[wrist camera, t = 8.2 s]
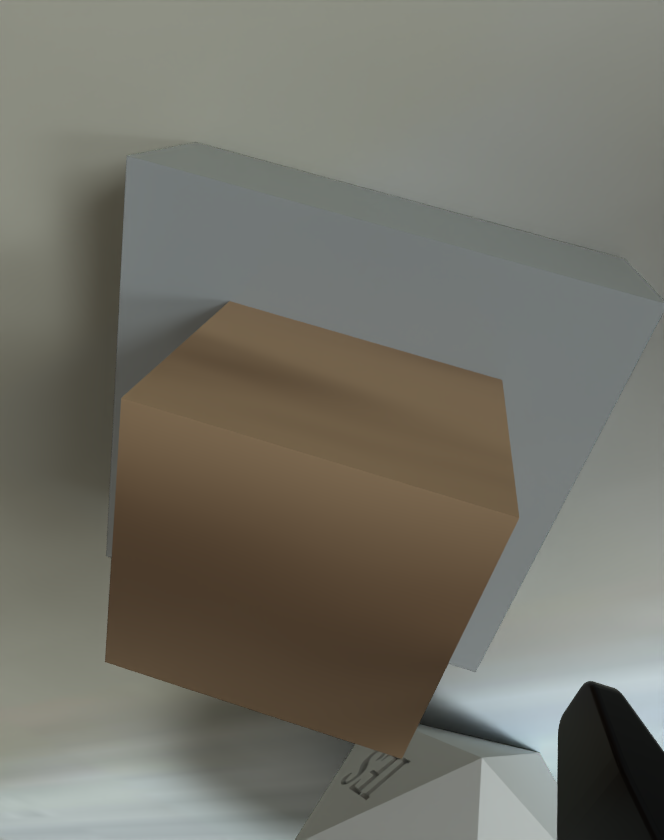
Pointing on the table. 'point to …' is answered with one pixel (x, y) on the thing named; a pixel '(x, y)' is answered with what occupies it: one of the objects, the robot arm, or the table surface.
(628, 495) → the table surface
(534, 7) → the table surface
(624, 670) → the table surface
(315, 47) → the table surface
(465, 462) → the block
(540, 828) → the die
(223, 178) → the base
